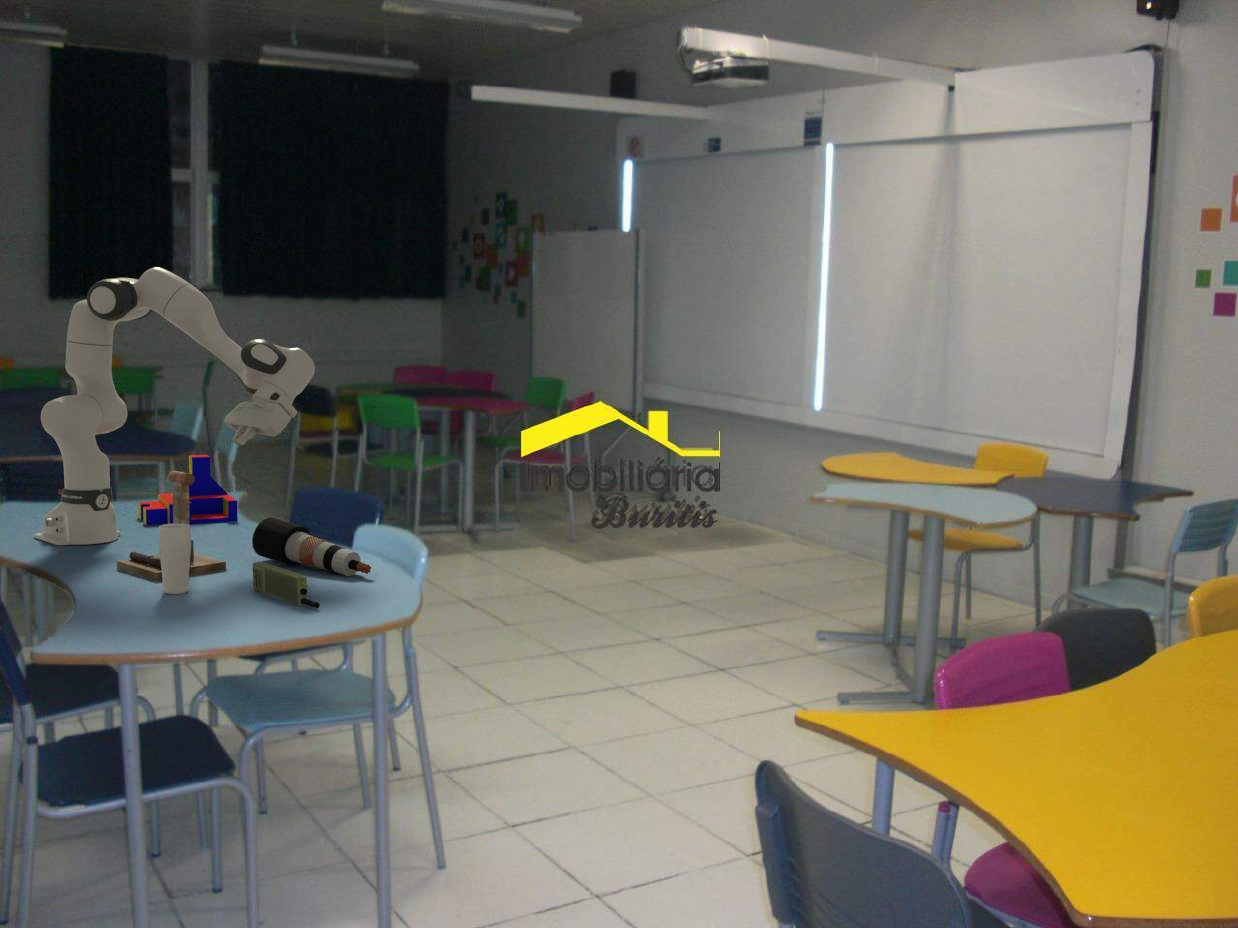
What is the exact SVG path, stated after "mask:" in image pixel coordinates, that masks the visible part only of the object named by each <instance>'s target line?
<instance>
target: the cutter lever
mask: <svg viewBox="0 0 1238 928" xmlns="http://www.w3.org/2000/svg"><path fill="white" fill-rule="evenodd" d="M167 477H168V480H169V481H170V482H172V483H174V484H173V485H174V486H173V487H174V488H173V490H172V494H173V524H175V523H180V524H188V525H190V524H189V485H192V484H193V483H194V481H195V478H194V476H193V475H192V474H189V472H183V471H178V470H172V471H170V472H169V473H168V476H167Z"/></svg>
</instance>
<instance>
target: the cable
mask: <svg viewBox="0 0 1238 928" xmlns="http://www.w3.org/2000/svg"><path fill="white" fill-rule="evenodd" d="M251 541H252V549H253V550H254V552H255V553H256V554H257V555H258V556H259V557H262V558H264V559H265V558H266V559H269V560H272V561H275V562H278V563H281V564H283V565H287V566H289V567H294V566H297V564H299V565H300V564H301V565H303V566H308V567H313V568H315V569H319V570H324V571H327V572H332V573H336V574H339V575H341V576H346V577H351V575H352V576H354V575H355V574H357V572H361V573H362V574H363V573H364V574H366V575H368V574H369V573H370V572H371V570H372V566H371V565H370V564H367V563H365V562H361V556H360V554H359V553H358V552H356V551H354V550H350V549H347V548H345V547H342V546H339V545H338V544H334V543H331V542H330V541H328V540H325V539H323V538H319V537H316V536H313V535H312V534H311V533H310V531H309V530H308V529H307V528H306V527H305V526H302V525H299V524H296V523H292V522H290V521H286V520H283V519H279V518H276V517H267V518H265V519H264V518H263V520H261V521H260V522H259V523H258V524H257V526H255V530H254V532H253V533H252V539H251ZM293 565H294V566H293Z"/></svg>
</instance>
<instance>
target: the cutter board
mask: <svg viewBox="0 0 1238 928" xmlns="http://www.w3.org/2000/svg"><path fill="white" fill-rule="evenodd" d="M194 546H195V545H194V540H193V539H191V553H190V566H189V577H191V576H197V575H204V574H208V573H214V572H219V571H226V570H227V562H226V561H225V560H220V559H218V558H214V557H210V556H207V555H204V554H199V553H196V552H195V550H194V549H195V548H194ZM128 557H129V558H127V559H120V560H116V569H117V570H119V571H122V572H126V573H129V574H132V575H136V576H139V577H141V578H145V579H148V580H151V581H154V582H163V579H162V570H161V561H160V553H159V554H144V553H142V552H138V551H131V552H130V553H129V556H128Z"/></svg>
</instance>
